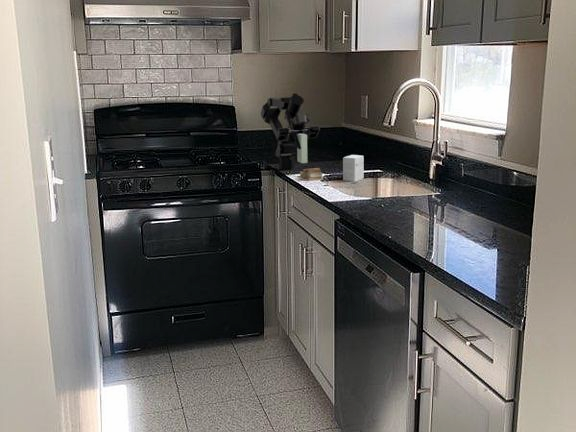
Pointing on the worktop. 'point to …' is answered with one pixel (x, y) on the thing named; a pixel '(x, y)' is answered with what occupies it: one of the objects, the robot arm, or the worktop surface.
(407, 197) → the worktop surface
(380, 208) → the worktop surface
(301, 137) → the sage panel
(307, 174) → the pine rack
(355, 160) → the small box
